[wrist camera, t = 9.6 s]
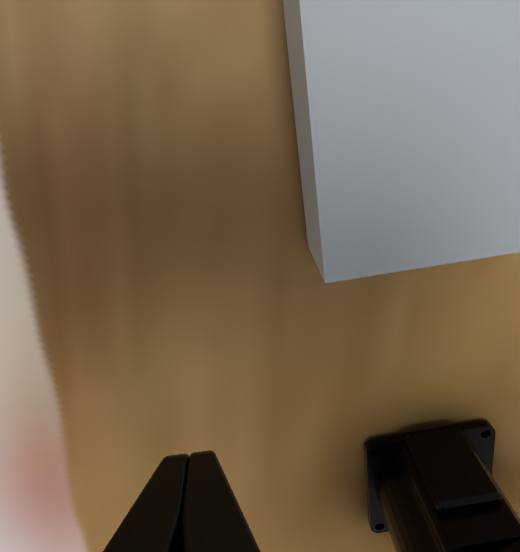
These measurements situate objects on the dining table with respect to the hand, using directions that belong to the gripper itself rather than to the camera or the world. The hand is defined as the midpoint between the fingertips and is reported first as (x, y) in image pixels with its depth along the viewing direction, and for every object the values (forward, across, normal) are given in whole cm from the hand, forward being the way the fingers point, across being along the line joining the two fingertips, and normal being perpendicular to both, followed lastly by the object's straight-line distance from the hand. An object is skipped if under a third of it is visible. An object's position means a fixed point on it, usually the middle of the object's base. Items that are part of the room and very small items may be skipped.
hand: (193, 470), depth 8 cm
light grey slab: (+12, -10, -4) cm, 16 cm away
